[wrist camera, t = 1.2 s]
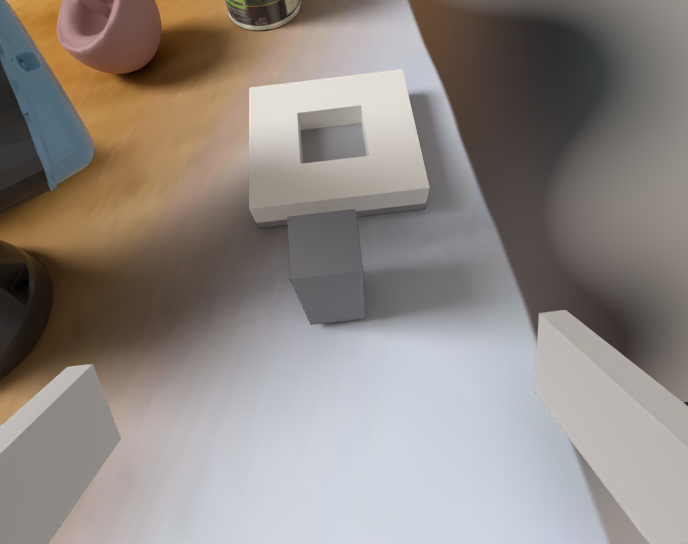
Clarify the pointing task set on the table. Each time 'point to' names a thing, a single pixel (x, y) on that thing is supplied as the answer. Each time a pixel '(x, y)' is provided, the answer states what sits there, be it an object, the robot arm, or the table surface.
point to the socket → (334, 148)
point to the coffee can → (262, 13)
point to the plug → (327, 265)
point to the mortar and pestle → (110, 33)
